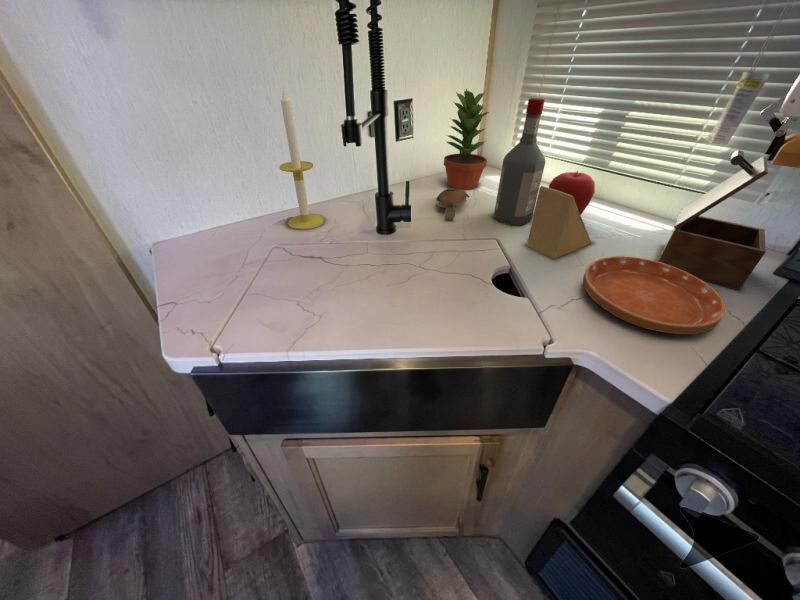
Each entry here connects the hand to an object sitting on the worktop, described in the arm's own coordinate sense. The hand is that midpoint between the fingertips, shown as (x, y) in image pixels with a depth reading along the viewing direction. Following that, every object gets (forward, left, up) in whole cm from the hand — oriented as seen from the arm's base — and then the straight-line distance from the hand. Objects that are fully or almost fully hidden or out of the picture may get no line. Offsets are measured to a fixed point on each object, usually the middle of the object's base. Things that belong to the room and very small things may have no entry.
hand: (788, 160), depth 63 cm
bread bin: (+4, 0, -24) cm, 24 cm away
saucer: (+11, +23, -24) cm, 35 cm away
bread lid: (+6, 0, -8) cm, 10 cm away
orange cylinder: (0, 0, 0) cm, 0 cm away
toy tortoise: (+66, +6, -24) cm, 70 cm away
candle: (+92, +41, -24) cm, 103 cm away
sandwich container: (+32, +9, -24) cm, 40 cm away
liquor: (+48, +2, -24) cm, 53 cm away
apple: (+37, -8, -24) cm, 44 cm away
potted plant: (+75, -15, -24) cm, 80 cm away
